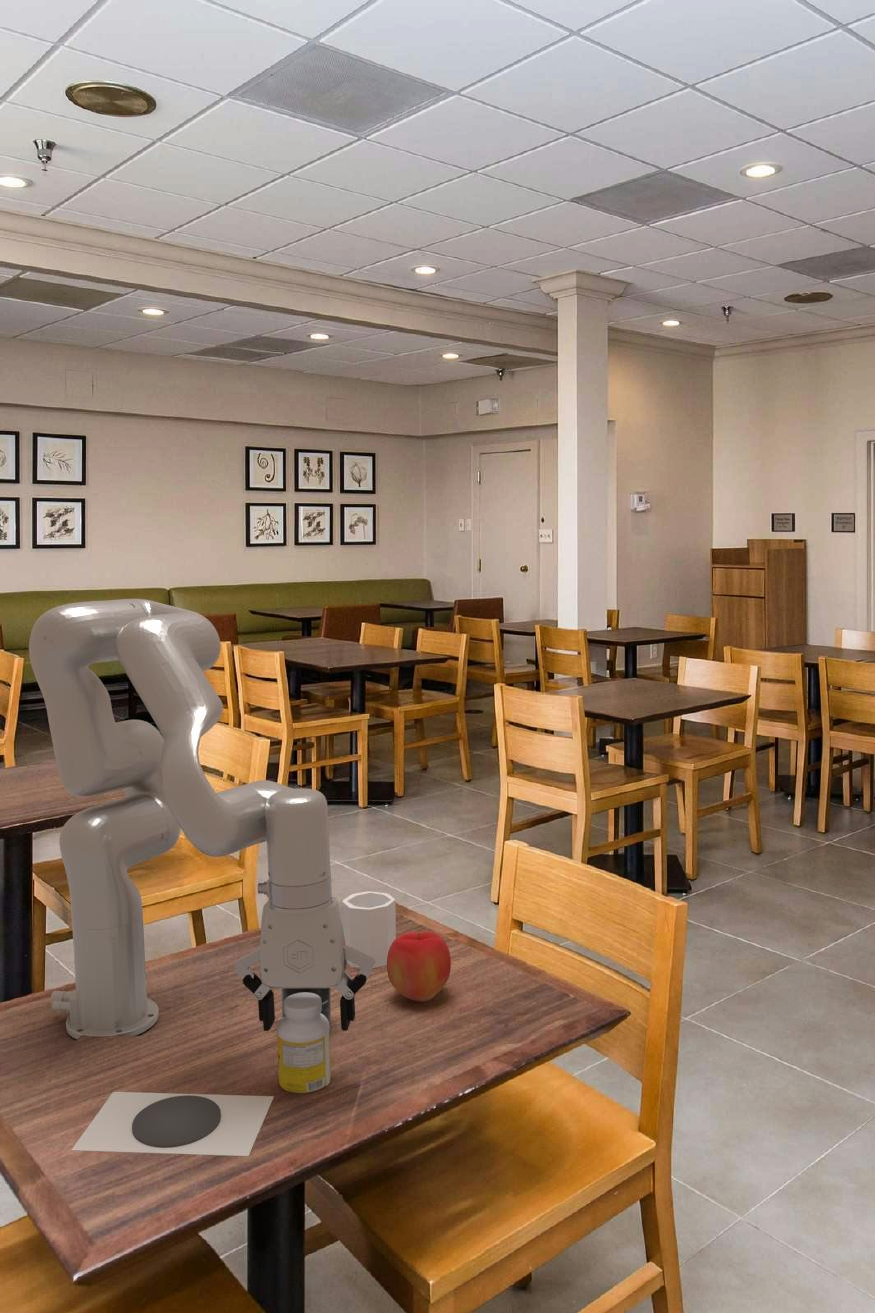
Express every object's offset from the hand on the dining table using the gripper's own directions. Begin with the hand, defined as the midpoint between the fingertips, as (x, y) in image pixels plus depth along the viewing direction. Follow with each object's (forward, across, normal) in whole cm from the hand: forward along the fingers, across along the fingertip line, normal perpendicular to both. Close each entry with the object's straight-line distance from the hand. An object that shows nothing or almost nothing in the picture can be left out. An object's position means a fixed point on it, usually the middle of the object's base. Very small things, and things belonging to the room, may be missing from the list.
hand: (307, 1025), depth 126 cm
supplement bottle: (+8, -4, +16) cm, 19 cm away
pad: (+7, -14, -10) cm, 18 cm away
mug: (+8, 0, +41) cm, 42 cm away
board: (+8, -14, -10) cm, 19 cm away
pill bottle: (+9, -1, 0) cm, 9 cm away
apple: (+9, +11, +26) cm, 30 cm away
